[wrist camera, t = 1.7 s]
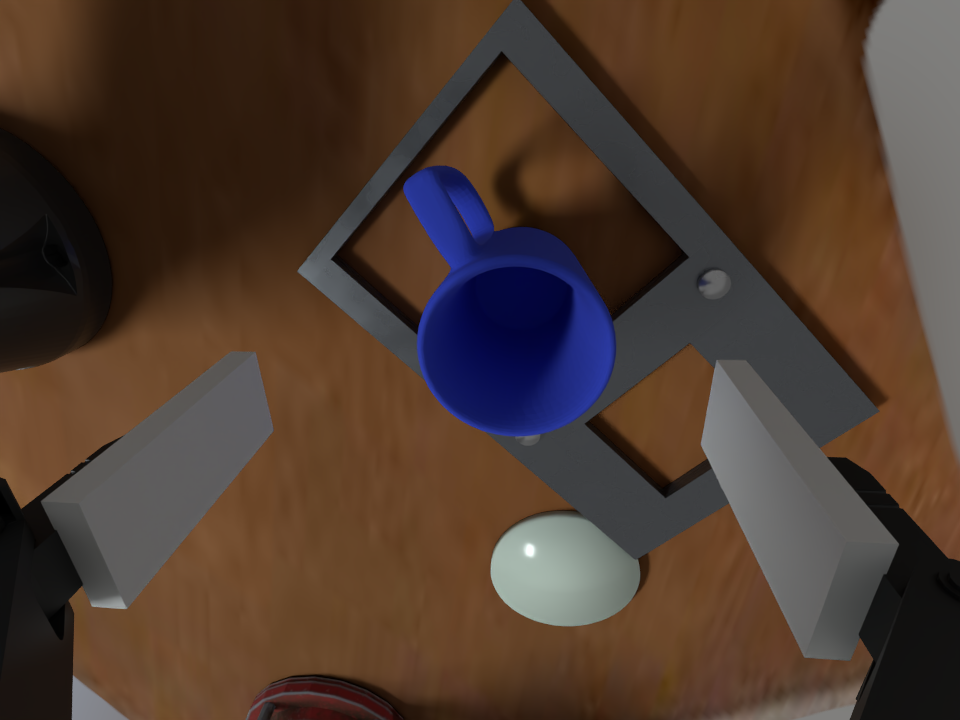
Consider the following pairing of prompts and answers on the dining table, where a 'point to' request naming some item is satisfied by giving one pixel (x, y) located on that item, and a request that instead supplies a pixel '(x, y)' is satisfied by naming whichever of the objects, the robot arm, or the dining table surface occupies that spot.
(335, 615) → the dining table surface
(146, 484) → the robot arm
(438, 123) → the gray cutout board
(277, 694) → the hourglass
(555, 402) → the mug
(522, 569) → the pale grey rounded piece
